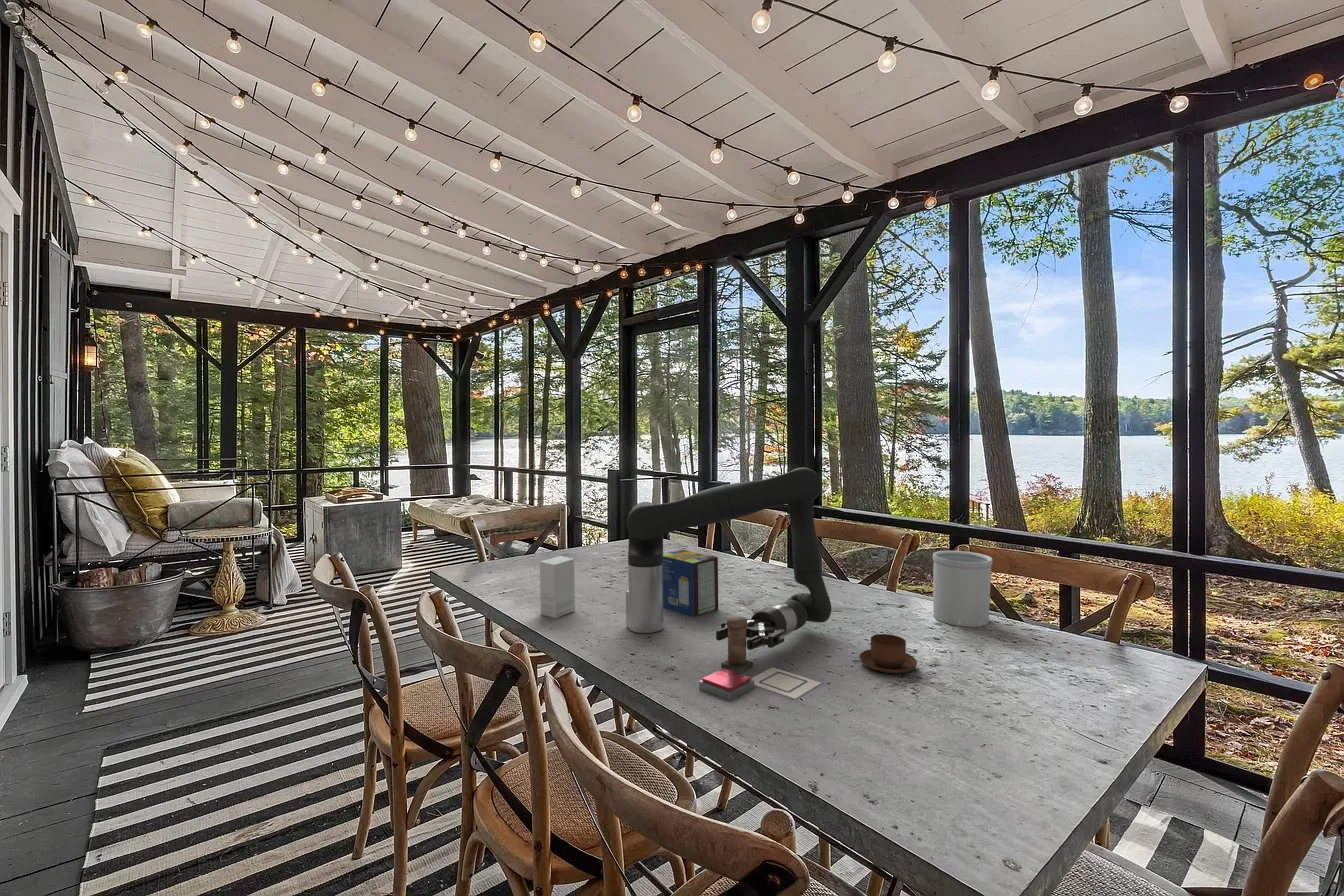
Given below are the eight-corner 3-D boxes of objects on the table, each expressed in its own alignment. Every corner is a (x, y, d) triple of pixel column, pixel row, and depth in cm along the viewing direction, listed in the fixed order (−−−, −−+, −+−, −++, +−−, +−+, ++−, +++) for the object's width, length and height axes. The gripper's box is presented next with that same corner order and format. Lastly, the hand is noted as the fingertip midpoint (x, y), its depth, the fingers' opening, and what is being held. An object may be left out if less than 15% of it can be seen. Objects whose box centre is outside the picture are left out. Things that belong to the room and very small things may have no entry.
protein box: (682, 598, 190) (682, 549, 190) (719, 609, 179) (718, 556, 178) (657, 605, 183) (656, 554, 183) (693, 617, 172) (693, 562, 171)
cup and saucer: (848, 661, 139) (848, 635, 139) (889, 653, 144) (889, 627, 144) (886, 682, 128) (886, 653, 128) (929, 672, 133) (929, 644, 133)
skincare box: (560, 607, 182) (560, 555, 181) (576, 611, 178) (576, 558, 177) (539, 615, 175) (538, 560, 174) (555, 619, 171) (554, 563, 171)
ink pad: (699, 688, 125) (699, 678, 125) (723, 677, 131) (723, 666, 131) (730, 700, 120) (730, 689, 120) (754, 687, 126) (754, 677, 125)
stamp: (721, 668, 136) (721, 619, 136) (735, 661, 140) (734, 614, 139) (739, 674, 133) (739, 624, 132) (753, 667, 136) (752, 619, 136)
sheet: (745, 682, 128) (745, 680, 128) (772, 668, 136) (772, 666, 136) (795, 699, 120) (795, 698, 120) (821, 683, 127) (821, 682, 127)
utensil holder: (1002, 621, 166) (1003, 557, 166) (972, 632, 158) (973, 564, 157) (951, 608, 179) (952, 548, 178) (920, 617, 170) (921, 554, 170)
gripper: (749, 601, 151) (707, 616, 139) (800, 613, 141) (759, 630, 130) (749, 631, 151) (707, 649, 140) (800, 645, 142) (759, 665, 130)
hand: (732, 640), depth 135 cm, fingers open, 8 cm apart
